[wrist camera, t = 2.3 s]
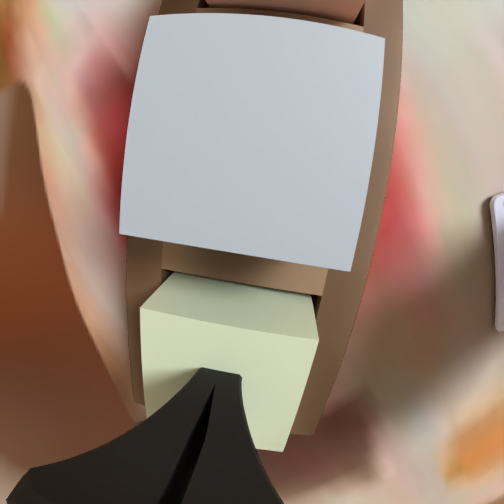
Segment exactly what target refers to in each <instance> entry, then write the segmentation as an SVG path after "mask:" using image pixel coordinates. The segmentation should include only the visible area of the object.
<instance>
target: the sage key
mask: <svg viewBox="0 0 504 504" xmlns="http://www.w3.org/2000/svg"><path fill="white" fill-rule="evenodd" d="M140 333H141V357H142V374H143V388H144V400H145V410H146V419H147V418H148V417H150V416H151V415H152V414H153V413H155V412H156V411H157V410H158V409H160V408H161V407H162V406H163V405H164V404H166V403H167V402H168V401H169V400H170V399H171V398H172V397H173V396H174V395H175V394H176V393H177V392H178V391H180V390H181V389H182V387H183V386H184V385H185V384H186V383H187V382H188V381H189V380H190V379H191V378H192V377H193V376H194V374H195V373H196V372H197V371H198V369H200V368H202V367H204V368H209V369H214V370H219V371H224V372H229V373H235V374H240V376H241V377H242V398H243V405H244V410H245V414H246V419H247V423H248V427H249V430H250V433H251V437H252V440H253V443H254V445H255V448H256V449H263V450H270V451H279V452H283V450H284V447H285V445H286V442H287V439H288V436H289V434H290V431H291V428H292V425H293V422H294V419H295V416H296V413H297V410H298V407H299V404H300V401H301V398H302V395H303V392H304V389H305V386H306V383H307V379H308V376H309V373H310V370H311V366H312V363H313V360H314V356H315V353H316V349H317V346H318V342H319V337H318V331H317V325H316V320H315V314H314V308H313V303H312V298H311V294H306V293H300V292H294V291H287V290H281V289H275V288H269V287H262V286H256V285H250V284H245V283H239V282H233V281H227V280H221V279H216V278H210V277H204V276H199V275H193V274H188V273H182V272H177V271H174V272H173V273H172V274H171V276H170V277H169V278H168V279H167V280H166V281H165V282H164V283H163V284H162V285H161V286H160V287H159V288H158V289H157V290H156V291H155V292H154V293H153V294H152V295H151V296H150V297H149V298H148V299H147V301H146V302H145V303H144V304H143V305H142V306H141V307H140Z"/></svg>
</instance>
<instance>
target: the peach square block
mask: <svg viewBox="0 0 504 504" xmlns="http://www.w3.org/2000/svg"><path fill="white" fill-rule="evenodd" d="M206 2H207V4H208V5H209V7H229V8H251V9H264V10H275V11H284V12H292V13H299V14H306V15H312V16H318V17H323V18H329V19H334V20H339V21H343V22H348V23H352V24H353V23H354V21H355V19H356V17H357V15H358V13H359V11H360V10H361V8H362V6H363V4H364V2H365V0H206Z"/></svg>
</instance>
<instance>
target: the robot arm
mask: <svg viewBox="0 0 504 504" xmlns="http://www.w3.org/2000/svg"><path fill="white" fill-rule="evenodd" d="M503 202H504V192H503V193H500V194H497V195H495V196H493V197H492V199H491V201H490V212H491V220H492V229H493V239H494V253H495V274H496V311H495V328H496V329H497V330H498V331H499V332H503V331H504V205H503ZM6 501H7V504H284V503H283V502H282V500H281V498H280V497H279V495H278V493H277V492H276V490H275V488H274V487H273V485H272V483H271V481H270V479H269V477H268V475H267V473H266V471H265V469H264V467H263V465H262V463H261V461H260V458H259V456H258V453H257V451H256V448H255V445H254V443H253V440H252V437H251V433H250V430H249V427H248V423H247V419H246V414H245V410H244V405H243V398H242V377H241V376H240V374H235V373H229V372H224V371H219V370H214V369H209V368H204V367H202V368H200V369H198V371H197V372H196V373H195V374H194V376H193V377H192V378H191V379H190V380H189V381H188V382H187V383H186V384H185V385H184V386H183V387H182V389H181V390H180V391H178V392H177V393H176V394H175V395H174V396H173V397H172V398H171V399H170V400H169V401H168V402H167V403H166V404H164V405H163V406H162V407H161V408H160V409H158V410H157V411H156V412H155V413H153V414H152V415H151V416H150V417H148V418H147V419H146V420H144V421H143V422H141V423H140V424H139V425H137V426H136V427H134V428H133V429H131V430H129V431H128V432H126V433H125V434H123V435H121V436H119V437H117V438H116V439H114V440H112V441H110V442H108V443H106V444H105V445H102V446H100V447H98V448H96V449H93V450H91V451H88V452H86V453H83V454H80V455H78V456H75V457H72V458H70V459H66V460H63V461H60V462H56V463H52V464H48V465H43V466H39V467H34V468H30V469H29V471H28V472H27V473H26V474H25V475H24V476H23V477H22V478H21V479H20V481H19V482H18V483H17V485H16V486H15V488H14V489H13V491H12V492H11V493H10V495H9V496H8V498H7V499H6Z"/></svg>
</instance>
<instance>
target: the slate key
mask: <svg viewBox="0 0 504 504" xmlns="http://www.w3.org/2000/svg"><path fill="white" fill-rule="evenodd" d="M384 49H385V38H382V37H378V36H375V35H371V34H367V33H364V32H360V31H355V30H351V29H347V28H342V27H338V26H333V25H328V24H322V23H317V22H311V21H305V20H298V19H291V18H282V17H273V16H263V15H250V14H230V13H188V14H168V15H155V16H150V18H149V22H148V26H147V30H146V34H145V38H144V42H143V46H142V51H141V55H140V60H139V65H138V70H137V75H136V80H135V85H134V91H133V97H132V103H131V109H130V116H129V123H128V130H127V138H126V146H125V155H124V165H123V176H122V189H121V204H120V225H119V234H123V235H129V236H135V237H141V238H147V239H153V240H159V241H165V242H171V243H177V244H183V245H189V246H195V247H201V248H207V249H213V250H220V251H226V252H232V253H238V254H244V255H250V256H256V257H262V258H268V259H274V260H281V261H287V262H293V263H299V264H305V265H311V266H317V267H324V268H330V269H336V270H342V271H348V272H350V271H351V267H352V262H353V258H354V254H355V249H356V245H357V240H358V236H359V231H360V226H361V222H362V217H363V212H364V206H365V201H366V196H367V190H368V185H369V179H370V173H371V167H372V160H373V154H374V147H375V140H376V133H377V125H378V117H379V108H380V99H381V89H382V77H383V65H384Z"/></svg>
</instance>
